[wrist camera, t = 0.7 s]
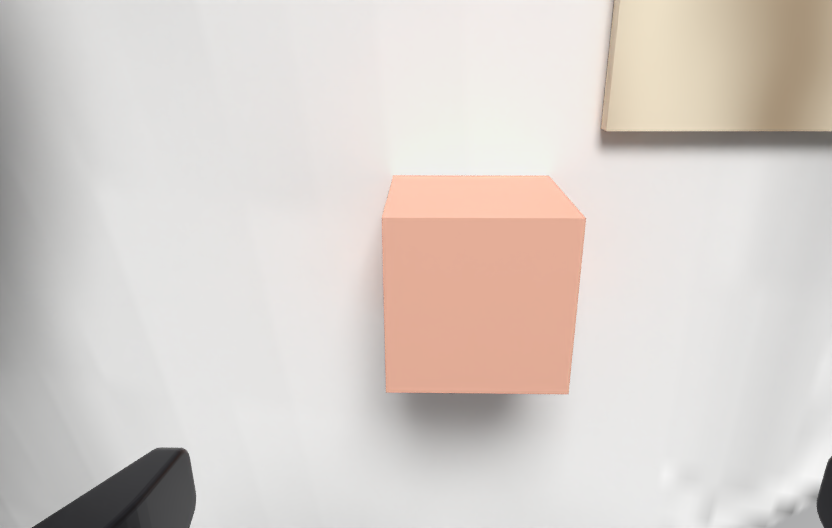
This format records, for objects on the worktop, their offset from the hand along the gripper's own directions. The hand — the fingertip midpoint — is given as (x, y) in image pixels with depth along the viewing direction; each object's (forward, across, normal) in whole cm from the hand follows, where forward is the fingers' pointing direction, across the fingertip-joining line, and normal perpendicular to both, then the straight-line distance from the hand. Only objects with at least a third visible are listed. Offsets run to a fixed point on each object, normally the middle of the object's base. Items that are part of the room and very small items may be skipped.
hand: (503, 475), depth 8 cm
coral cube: (+12, 0, +1) cm, 12 cm away
